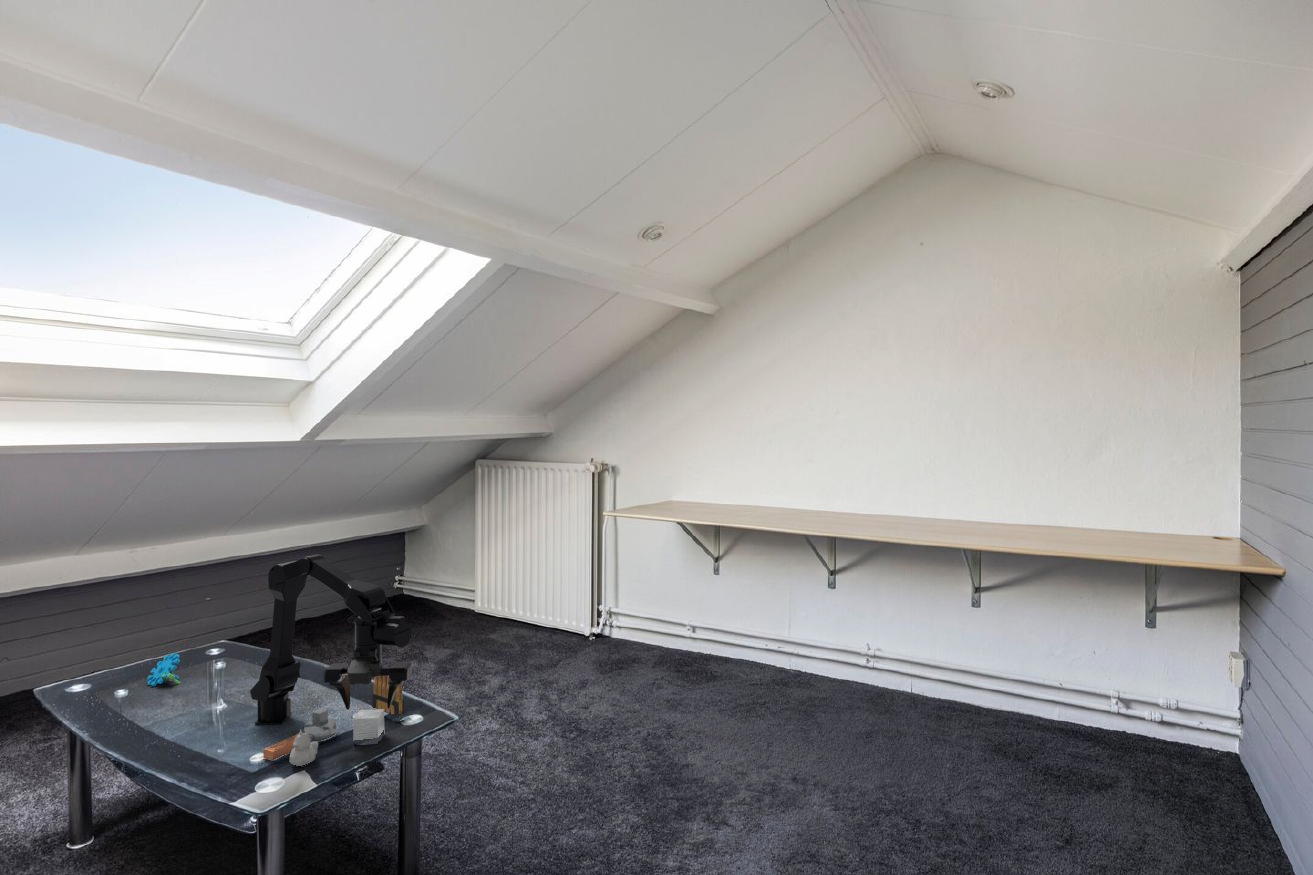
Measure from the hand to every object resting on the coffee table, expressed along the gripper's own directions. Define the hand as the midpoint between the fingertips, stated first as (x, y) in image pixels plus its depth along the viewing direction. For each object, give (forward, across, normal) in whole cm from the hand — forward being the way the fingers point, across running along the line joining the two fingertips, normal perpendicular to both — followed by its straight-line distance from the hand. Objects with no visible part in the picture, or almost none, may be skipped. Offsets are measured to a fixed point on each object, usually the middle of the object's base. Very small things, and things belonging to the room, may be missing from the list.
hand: (368, 708), depth 180 cm
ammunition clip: (+8, +1, +14) cm, 16 cm away
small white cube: (+7, 0, 0) cm, 7 cm away
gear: (+8, -68, +43) cm, 81 cm away
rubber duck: (+8, -10, -11) cm, 17 cm away
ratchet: (+7, -15, -2) cm, 16 cm away
